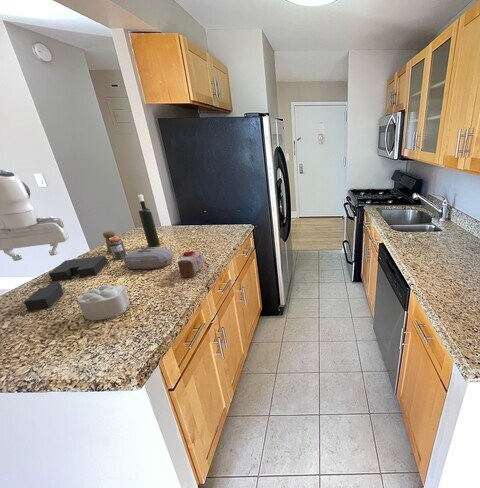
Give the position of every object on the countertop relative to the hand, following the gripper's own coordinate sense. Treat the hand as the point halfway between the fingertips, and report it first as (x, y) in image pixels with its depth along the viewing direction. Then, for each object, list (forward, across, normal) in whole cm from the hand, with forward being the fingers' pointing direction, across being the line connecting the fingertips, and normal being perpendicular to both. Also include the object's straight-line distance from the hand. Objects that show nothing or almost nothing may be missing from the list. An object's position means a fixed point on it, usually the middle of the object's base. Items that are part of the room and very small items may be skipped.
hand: (36, 257), depth 92 cm
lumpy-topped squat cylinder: (+19, -18, +15) cm, 31 cm away
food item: (+19, -48, -4) cm, 51 cm away
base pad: (+19, 0, -28) cm, 34 cm away
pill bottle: (+19, -14, -39) cm, 45 cm away
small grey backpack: (+19, -30, -22) cm, 42 cm away
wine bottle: (+19, -28, -50) cm, 61 cm away
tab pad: (+19, +4, -4) cm, 20 cm away
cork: (+19, -8, -53) cm, 57 cm away
